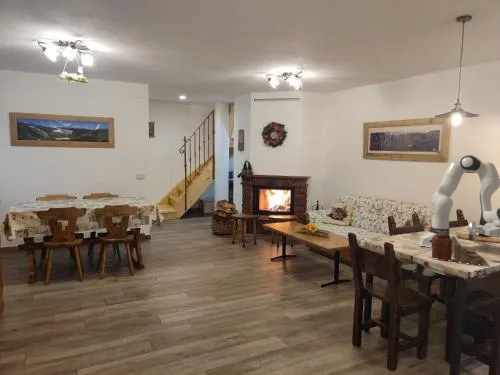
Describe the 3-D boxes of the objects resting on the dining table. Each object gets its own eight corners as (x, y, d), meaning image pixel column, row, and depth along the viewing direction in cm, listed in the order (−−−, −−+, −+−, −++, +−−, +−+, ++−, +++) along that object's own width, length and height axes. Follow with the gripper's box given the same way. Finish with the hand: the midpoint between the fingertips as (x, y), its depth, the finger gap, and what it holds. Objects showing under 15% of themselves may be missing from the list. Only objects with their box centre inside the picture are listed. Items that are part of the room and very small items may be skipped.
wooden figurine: (451, 259, 233) (453, 232, 231) (451, 262, 227) (452, 234, 226) (431, 256, 239) (432, 230, 237) (430, 259, 234) (431, 232, 232)
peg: (469, 240, 231) (469, 222, 230) (467, 239, 235) (468, 221, 234) (476, 241, 230) (477, 222, 229) (474, 239, 234) (475, 221, 232)
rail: (456, 263, 225) (457, 244, 224) (450, 253, 247) (451, 236, 246) (482, 265, 220) (483, 246, 219) (473, 255, 242) (474, 237, 241)
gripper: (479, 221, 243) (460, 222, 242) (503, 227, 223) (482, 228, 221) (479, 230, 244) (460, 231, 242) (502, 237, 223) (482, 238, 222)
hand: (471, 230), depth 232 cm, fingers closed on peg, 4 cm apart
